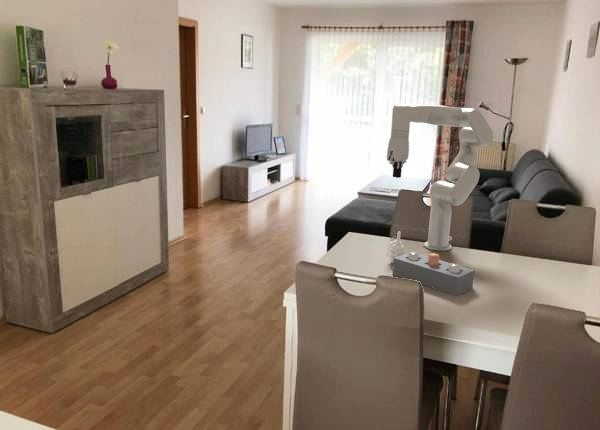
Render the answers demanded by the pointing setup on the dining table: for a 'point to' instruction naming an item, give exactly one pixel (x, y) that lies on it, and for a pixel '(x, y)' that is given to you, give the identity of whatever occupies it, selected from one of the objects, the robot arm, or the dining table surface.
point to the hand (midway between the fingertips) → (396, 177)
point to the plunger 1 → (413, 256)
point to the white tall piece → (396, 248)
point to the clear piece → (454, 268)
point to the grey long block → (434, 274)
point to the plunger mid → (433, 259)
